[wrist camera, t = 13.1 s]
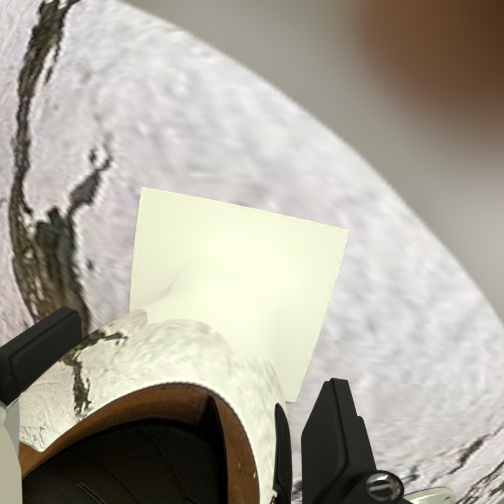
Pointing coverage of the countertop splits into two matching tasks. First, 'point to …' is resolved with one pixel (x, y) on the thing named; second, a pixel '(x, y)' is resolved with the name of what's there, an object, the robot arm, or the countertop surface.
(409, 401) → the countertop surface
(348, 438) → the robot arm
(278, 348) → the plain cream tile
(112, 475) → the beer glass
